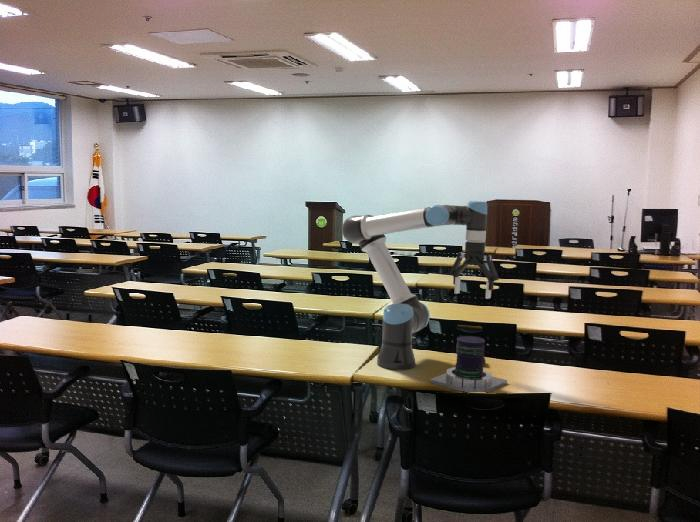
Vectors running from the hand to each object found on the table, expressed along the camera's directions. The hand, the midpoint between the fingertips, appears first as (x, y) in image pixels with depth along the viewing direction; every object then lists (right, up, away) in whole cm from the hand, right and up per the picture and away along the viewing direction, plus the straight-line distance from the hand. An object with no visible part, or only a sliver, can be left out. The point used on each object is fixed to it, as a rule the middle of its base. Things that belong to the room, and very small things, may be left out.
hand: (472, 295), depth 222 cm
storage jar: (-5, -29, -16) cm, 34 cm away
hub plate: (-5, -30, -16) cm, 35 cm away
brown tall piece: (+4, -28, +13) cm, 31 cm away
